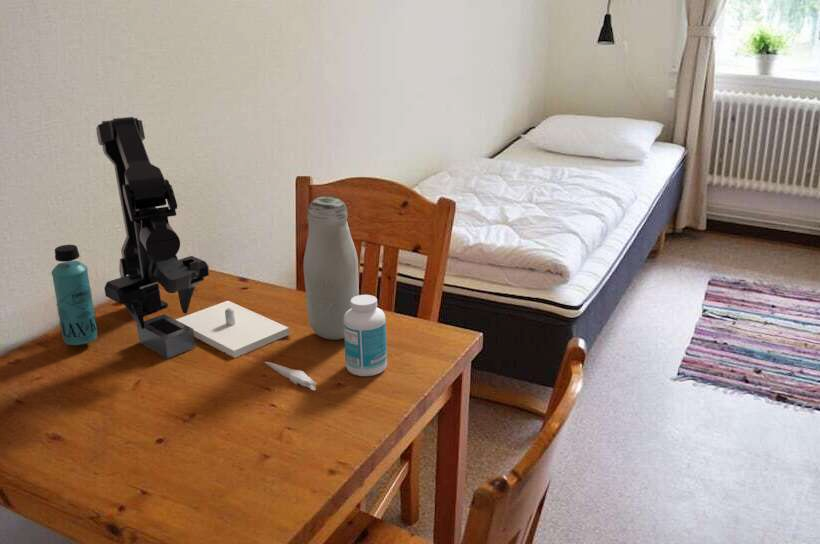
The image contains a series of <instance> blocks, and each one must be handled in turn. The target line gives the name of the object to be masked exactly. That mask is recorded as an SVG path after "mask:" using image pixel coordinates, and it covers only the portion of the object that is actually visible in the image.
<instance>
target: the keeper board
mask: <svg viewBox="0 0 820 544" xmlns="http://www.w3.org/2000/svg"><path fill="white" fill-rule="evenodd" d="M175 320H177V321H179V322H181V323H183V324H185V325H187V326H189V327H191V328H193V330H194V338H195V337H196V339H198V340H199V339H200V341H201V340H202V341H201V342H204V343H205V344H207V345H209V346H210V347H213V348H215V349H217V350H219V351H221V352H223V353H224V352H225V354H226V355H228V356H230V357H233V358H234V359H235V358H238V357H241V356H244V355H245V354H247V353H249V352H252V351H255V350H257V349H259V348H261V347H264V346H266V345H269V344H271V343H273V342H276V341H277V340H280V339H282V338H285V337H287V336H289V335H290V328H289V326H286V325H284V324H281V323H279V322H276V321H275V320H272V319H270V318H267V317H266V316H263V315H262V314H259V313H257V312H255V311H252V310H250V309H248V308H246V307H243V306H241V305H239V304H236V303H234V302H233V301H230V300H226V301H223V302H220V303H218V304H214V305H211V306H210V307H207V308H203V309H201V310H198V311H195V312H192V313H190V314H186V315H184V316H182V317H179V318H176V319H175ZM240 355H241V356H240Z"/></svg>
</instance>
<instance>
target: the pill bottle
mask: <svg viewBox="0 0 820 544" xmlns="http://www.w3.org/2000/svg"><path fill="white" fill-rule="evenodd" d="M350 303H351V309H349V310H348V311H347V312H346V313H345V315H344V338H343V339H344V353H345V366H346V369H347V371H348V372H349V373H350V374H352V375H355V376H357V377H372V376H373V377H374V376H376V375H379V374H381V373H382V372H384V371H385V370H386V369H387V365H388V358H387V357H388V351H387V350H388V347H387V321H386V320H387V319H386V314H385V312H384V311H383V309H381V308H379V307H378V298H377V296H374V295H372V294H371V295H370V294H359V295H358V296H355V297H353V298H352V299H351V301H350Z"/></svg>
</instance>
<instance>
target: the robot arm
mask: <svg viewBox="0 0 820 544" xmlns="http://www.w3.org/2000/svg"><path fill="white" fill-rule="evenodd" d="M143 125H144V124H143V120H141V119H138V118H137V117H134V116H128V117H127V116H126V117H117V118H115V117H114V118H112V119H111V120H102V121H101V123H99V124H97V126H96V136H97V137H96V138H97V142H98V145H99V146H102V151H103V154H104V155H105V156H106V158H107V159H108V160H109V161H110V163H112V165H113V167H114V172H115V177H116V178H115V179H116V183H117V189H118V194H119V195H118V196H119V200H120V206H121V211H122V212H121V213H122V217H123V223H124V228H125V235H126V237H125V240H124V242H123V244H122V247H121V249H120V252H121V258H119V264H118V265H119V268H118V270H119V276H120V277H118V278H114V279H112V280H108V281H107V282H106V283H105V285H104V287H103V288H104V294H105V295H104V296H105V297H106V298H108V299H110V300H113V301H114V302H116V303H118V304H120V305H124V307H125V308H126V309H127V311H128V312H129V313H130V315H131V316H132V318H133V320H134V322H135V323H136V325H137V324H138V326H139V327H140V328H141V329H144V321H145V320H144V315H146V314H149V313H153V312H155V311H158V310H160V309H161V310H162V309H163V308H166V307H168V306H169V304H168V302H166V301H164V300H162V299H161V291H160V286H161V287H162V288H163V290H164V291H165V292H166V293H169V294H175V293H177V294H178V299H179V304H180V305H179V306H180V309H181V311H182V313H184V314H186V315H187V313H188V312H189V308H190V304H191V300H192V296H193V292H194V290H195V288H196V286H197V285H199V284H200V283H201V282H203V281H204V279H205V278H206V277H209V276H210V267H209V265H208V262H206V261H205V260H202V259H201V258H199V257H195V256H193V255H190V256H189V255H188V256H187V257H183V258H180V259H178V256H177V254H178V252H179V251H180V248H181V240H180V238H179V235H178V234H177V232H175V230H174V228H173V227H172V226H171V224H170V222H169V218H170V217H174V216H175V217H176V216H177V211H176V210H177V209H178V203H177V200H176V199H177V198H176V196H175V192H174V190H173V186H172V184H171V183H170V182H169V180H168V179H165V177H164V175H163V173H162V171H161V169H160V167H158V166H156V165H154V164H152V163H151V161H150V158H149V155H148V152H147V150H146V147H145V144H144V142H143V141H144V140H145V139H146V135H145V130H144V126H143ZM166 205H168V206H166ZM159 285H160V286H159Z"/></svg>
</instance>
